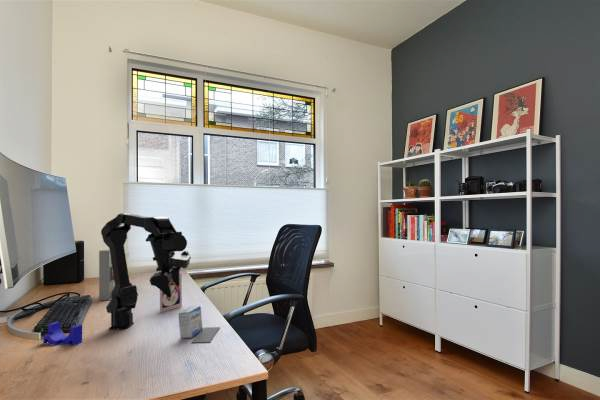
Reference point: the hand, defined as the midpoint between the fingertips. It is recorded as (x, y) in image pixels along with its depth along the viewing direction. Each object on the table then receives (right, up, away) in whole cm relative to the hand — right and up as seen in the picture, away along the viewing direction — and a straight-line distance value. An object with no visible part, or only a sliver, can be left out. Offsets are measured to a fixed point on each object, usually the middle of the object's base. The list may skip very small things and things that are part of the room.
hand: (174, 290), depth 123 cm
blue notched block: (-34, -15, -10) cm, 38 cm away
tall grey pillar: (-52, -18, +53) cm, 76 cm away
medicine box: (+8, -14, -5) cm, 17 cm away
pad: (+14, -14, -6) cm, 20 cm away
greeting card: (-14, -16, +29) cm, 36 cm away
